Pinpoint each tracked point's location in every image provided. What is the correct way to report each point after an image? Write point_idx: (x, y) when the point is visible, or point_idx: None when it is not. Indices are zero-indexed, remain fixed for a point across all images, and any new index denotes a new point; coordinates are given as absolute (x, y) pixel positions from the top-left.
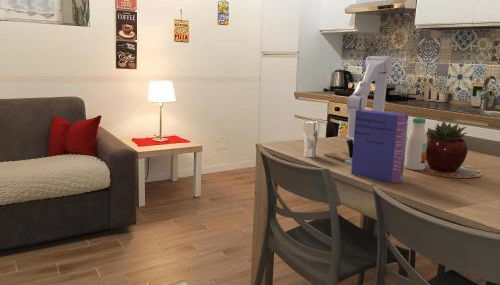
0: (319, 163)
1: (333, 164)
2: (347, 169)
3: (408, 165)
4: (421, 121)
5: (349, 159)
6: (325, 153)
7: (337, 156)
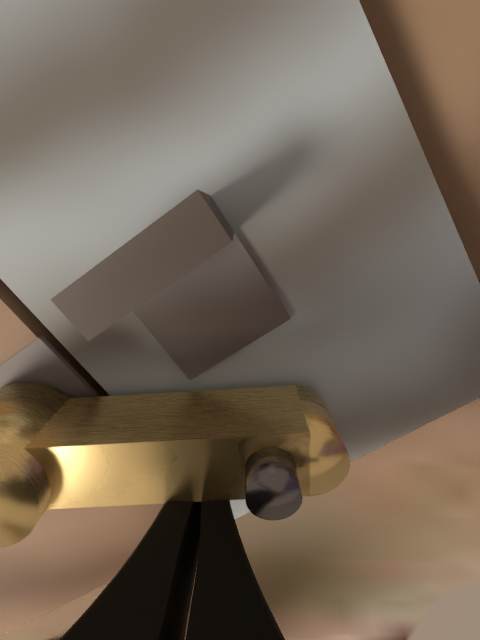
0: (288, 635)
1: (302, 568)
2: (463, 495)
3: None
4: None
5: None
6: (7, 629)
7: (90, 562)
